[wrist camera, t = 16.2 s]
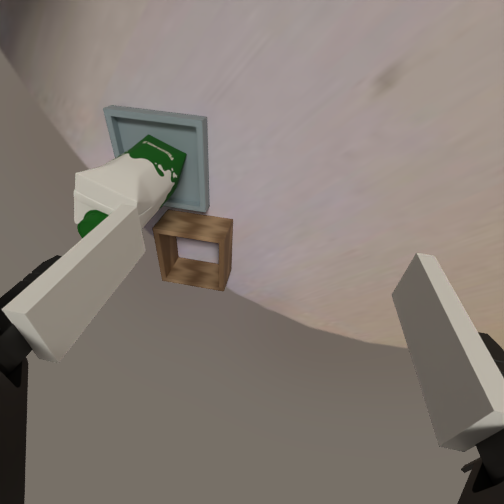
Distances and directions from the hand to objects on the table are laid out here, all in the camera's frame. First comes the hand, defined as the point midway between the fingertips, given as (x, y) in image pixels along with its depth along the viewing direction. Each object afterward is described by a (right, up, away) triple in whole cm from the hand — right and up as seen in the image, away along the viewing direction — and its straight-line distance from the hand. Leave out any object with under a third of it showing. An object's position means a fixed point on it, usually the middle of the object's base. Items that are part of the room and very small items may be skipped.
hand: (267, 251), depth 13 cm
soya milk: (-16, +16, +35) cm, 42 cm away
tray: (-16, +16, +36) cm, 42 cm away
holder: (-12, +2, +46) cm, 47 cm away
